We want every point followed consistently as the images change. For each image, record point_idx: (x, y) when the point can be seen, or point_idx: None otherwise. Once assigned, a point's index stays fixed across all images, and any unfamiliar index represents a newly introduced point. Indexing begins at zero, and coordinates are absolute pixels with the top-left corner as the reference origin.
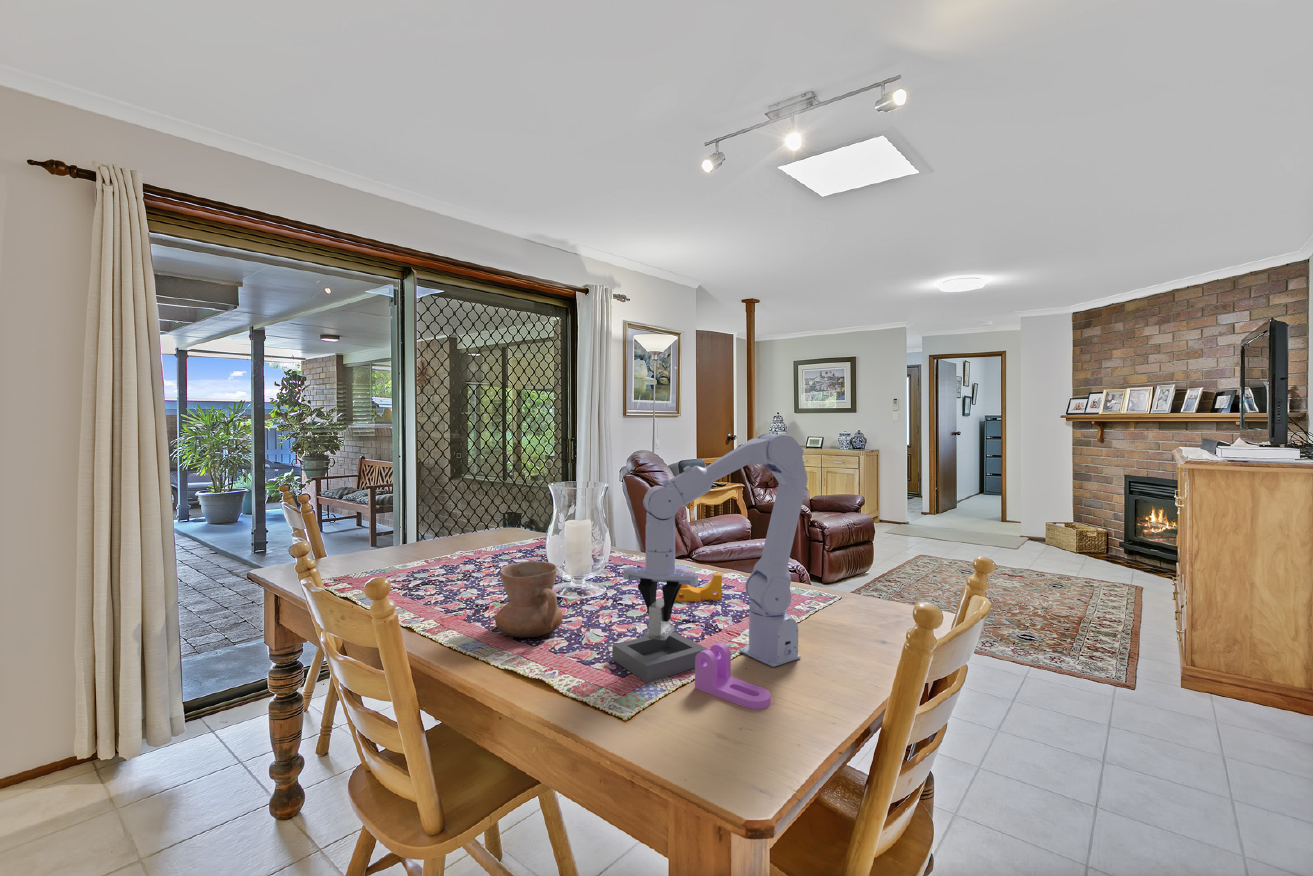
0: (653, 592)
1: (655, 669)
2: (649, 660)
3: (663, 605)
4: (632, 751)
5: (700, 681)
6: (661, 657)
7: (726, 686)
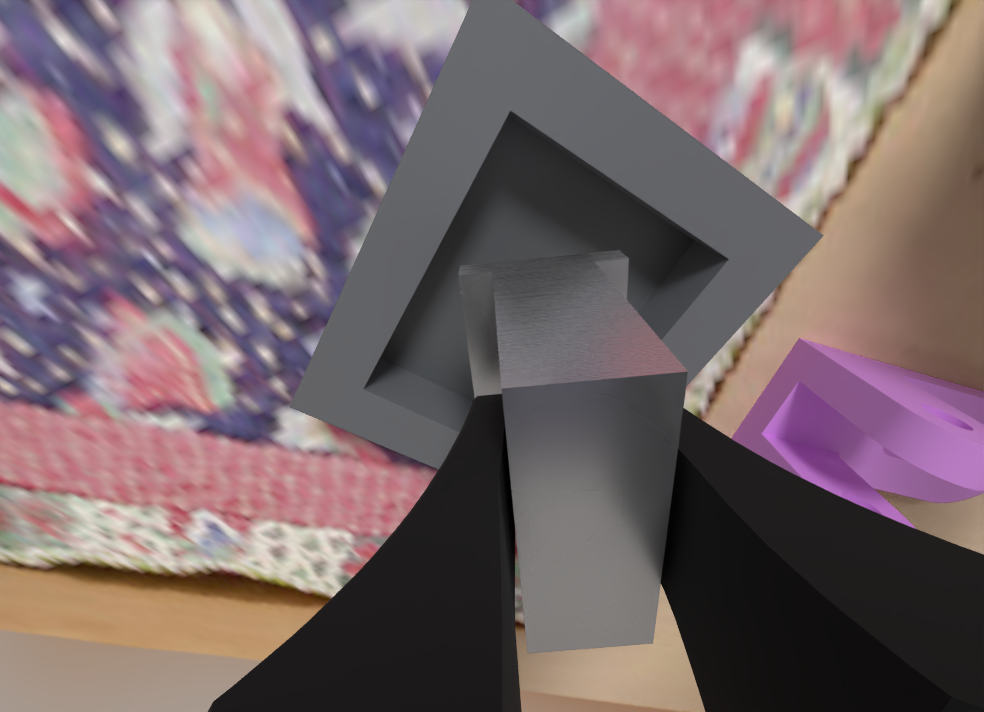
0: (513, 676)
1: None
2: None
3: (653, 582)
4: (636, 690)
5: None
6: None
7: (870, 451)
